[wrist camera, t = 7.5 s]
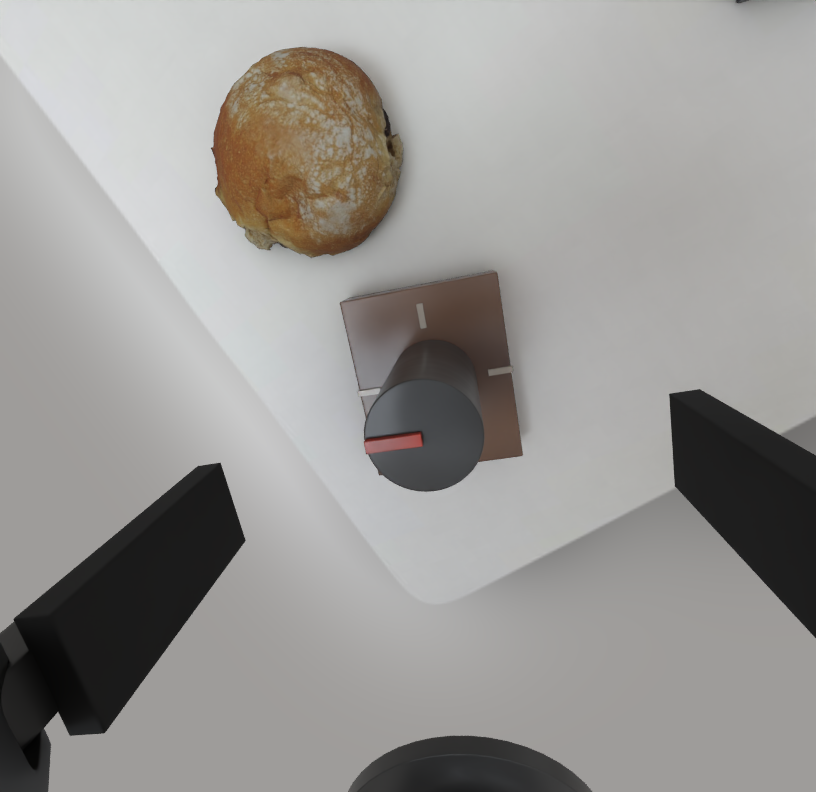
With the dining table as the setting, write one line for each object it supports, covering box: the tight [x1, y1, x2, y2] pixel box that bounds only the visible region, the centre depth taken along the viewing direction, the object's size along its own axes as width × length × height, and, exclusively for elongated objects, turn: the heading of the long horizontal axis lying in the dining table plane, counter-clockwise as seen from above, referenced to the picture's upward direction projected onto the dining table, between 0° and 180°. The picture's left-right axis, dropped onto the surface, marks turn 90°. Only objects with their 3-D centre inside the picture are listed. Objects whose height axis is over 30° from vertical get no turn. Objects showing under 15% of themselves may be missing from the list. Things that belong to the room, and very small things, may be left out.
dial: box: [364, 340, 485, 492], centre depth 24 cm, size 5×5×9 cm
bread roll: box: [211, 47, 403, 258], centre depth 26 cm, size 10×10×8 cm
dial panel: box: [340, 271, 523, 475], centre depth 30 cm, size 11×9×3 cm
